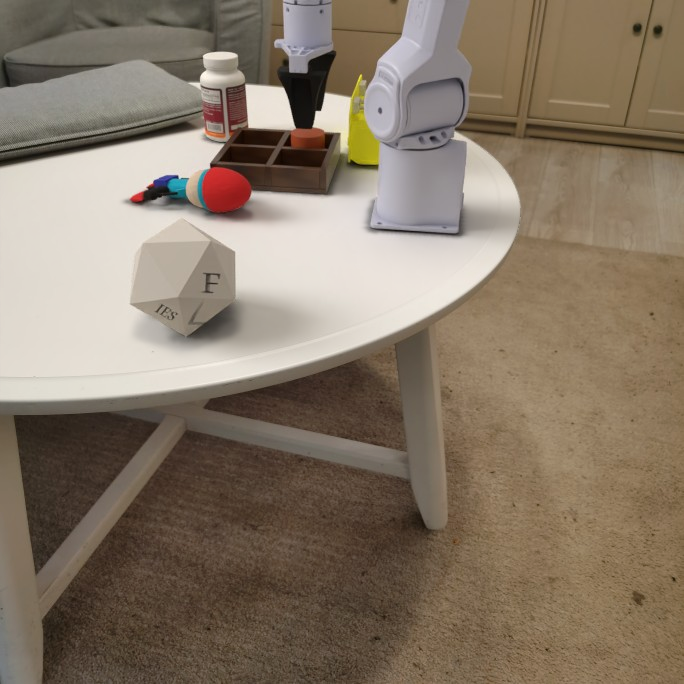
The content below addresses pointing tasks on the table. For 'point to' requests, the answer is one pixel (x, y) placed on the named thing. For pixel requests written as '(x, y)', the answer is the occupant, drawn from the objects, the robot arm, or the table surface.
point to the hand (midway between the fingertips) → (308, 118)
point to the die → (183, 277)
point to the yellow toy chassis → (361, 130)
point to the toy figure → (202, 189)
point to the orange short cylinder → (308, 138)
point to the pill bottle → (223, 96)
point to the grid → (279, 160)
